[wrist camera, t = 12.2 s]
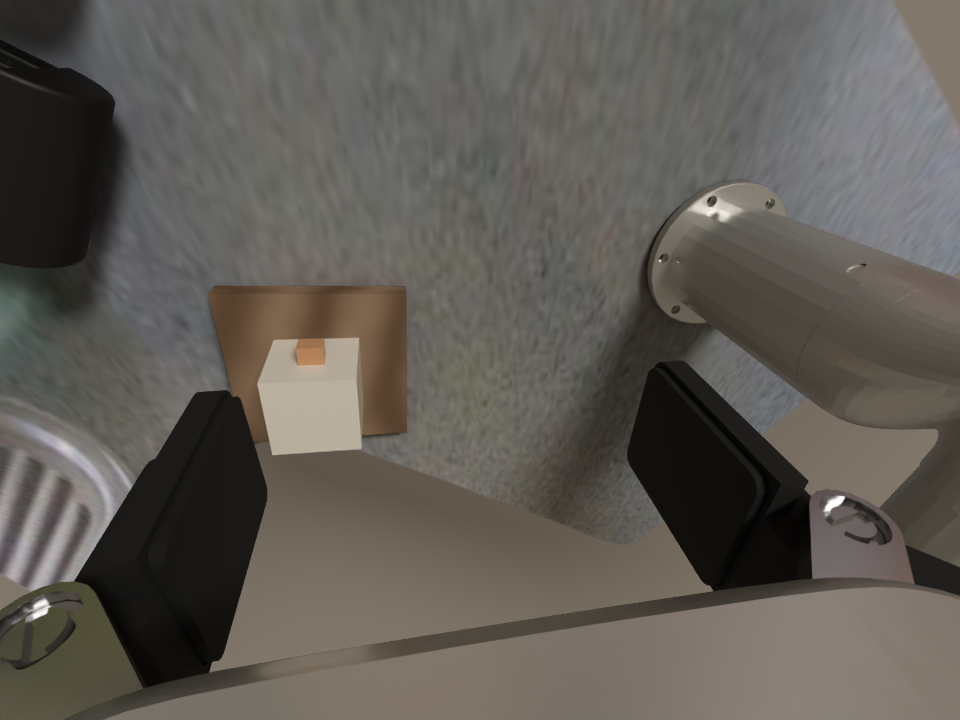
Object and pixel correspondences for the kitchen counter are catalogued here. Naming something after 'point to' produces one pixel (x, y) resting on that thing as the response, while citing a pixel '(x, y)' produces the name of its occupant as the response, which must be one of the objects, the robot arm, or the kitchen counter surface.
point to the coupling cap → (313, 395)
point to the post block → (313, 315)
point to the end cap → (48, 159)
